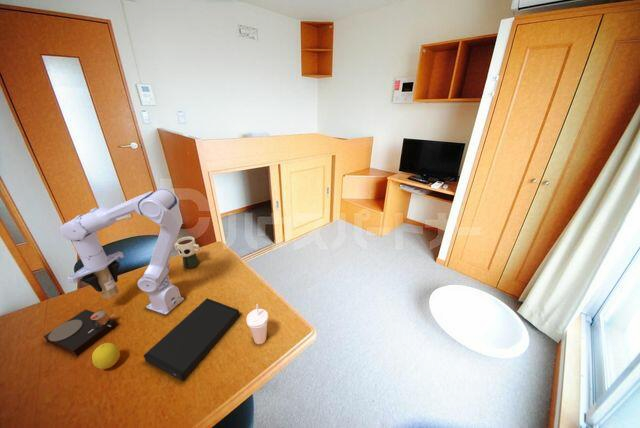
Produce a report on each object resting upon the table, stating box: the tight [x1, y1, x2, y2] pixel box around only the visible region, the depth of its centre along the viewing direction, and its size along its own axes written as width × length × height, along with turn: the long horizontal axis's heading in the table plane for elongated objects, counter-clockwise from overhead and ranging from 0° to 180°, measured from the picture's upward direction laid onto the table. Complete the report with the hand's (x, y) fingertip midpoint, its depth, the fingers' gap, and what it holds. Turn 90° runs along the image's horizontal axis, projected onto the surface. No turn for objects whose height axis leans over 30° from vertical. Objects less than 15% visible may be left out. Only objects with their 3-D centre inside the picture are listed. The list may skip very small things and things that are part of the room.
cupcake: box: [91, 310, 110, 328], centre depth 75 cm, size 4×4×4 cm
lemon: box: [91, 342, 121, 370], centre depth 65 cm, size 6×6×8 cm
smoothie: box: [245, 303, 269, 345], centre depth 72 cm, size 6×6×14 cm
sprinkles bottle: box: [92, 266, 120, 300], centre depth 80 cm, size 5×5×13 cm
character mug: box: [174, 236, 201, 269], centre depth 105 cm, size 11×7×13 cm, turn 87°
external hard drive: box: [143, 298, 240, 382], centre depth 74 cm, size 14×23×3 cm, turn 158°
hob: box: [43, 308, 118, 357], centre depth 76 cm, size 15×13×3 cm
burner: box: [48, 320, 83, 342], centre depth 74 cm, size 8×8×1 cm
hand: (107, 285), depth 81 cm, fingers closed on sprinkles bottle, 4 cm apart
